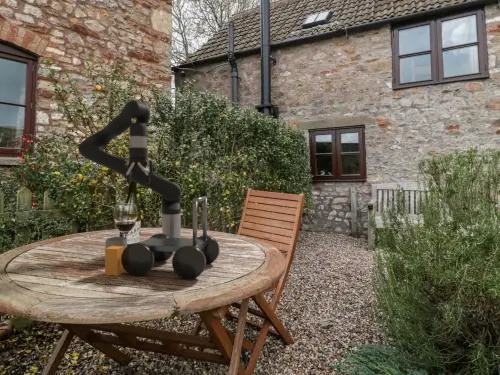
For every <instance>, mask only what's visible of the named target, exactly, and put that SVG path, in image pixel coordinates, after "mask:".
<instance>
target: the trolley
mask: <svg viewBox="0 0 500 375" xmlns="http://www.w3.org/2000/svg"><path fill="white" fill-rule="evenodd" d="M200 202H202V235H200V236H198V203H200ZM191 203H192V238H190V237H189V238H188V237H187V238H186V237H181V238H170V237H169V236H168V235H166V234H163V233H162V232H161V233H160V232H159V233H155V234H153V235H152V236H150V237H149V238H148V239H145V240H142V241H141V242H134V243H132V244H129V245H127V247H126V248H125V249H124V251H123V252H122V255H121V263H122V266H123V268H124V272H126V273H127V274H128V275H130V276H134V277H141V276H144V275H145V274H147V273H149V272H150V271H151V270H152V268H153V267H154V264H155V262H157V263H164V262H166V261H168V260H169V259H171V257H172V259H171V266H172V269H173V271H174V272H175V274H176V275H177V277H179V278H181V279H184V280H187V281H191V280H195V279H198V277H200V276H201V275H202V273H203V272H204V271H205V270H206V267H207V265H210V264H212V263H214V262H215V261H216V260H217V259H218V257H219V256H220V250H221V248H220V245H219V243H218V241H217V240H216V238H214V237H213V236H211V235H208V227H207V226H208V217H207V216H208V197H207V196H206V195H205V196H200V197H196V198H195V197H194V198H193V199H191Z"/></svg>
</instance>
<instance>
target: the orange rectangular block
mask: <svg viewBox="0 0 500 375" xmlns="http://www.w3.org/2000/svg"><path fill="white" fill-rule="evenodd" d="M123 251H124V246H111V247H108V248H106V247H104V267H105V268H104V270H105V272H104V274H105V276H110V275H115V276H114V277H119V276H120V275H122V274H124V273H125V270H124V268H123V266H122V263H121V255H122V252H123ZM118 275H119V276H118Z"/></svg>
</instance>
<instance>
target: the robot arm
mask: <svg viewBox="0 0 500 375" xmlns="http://www.w3.org/2000/svg"><path fill="white" fill-rule="evenodd" d="M150 116H151V109H150V107H149V105H148V104H147V103H145V102H142V101H138V100H135V99H133V100H130V101H127V102H126V103H125V104H124V106H123V108H122V109H121V111H120V113H119V114H118V115H116V116H115V117H114V118H112V119H111V120H110V121H109V123H107V125H105V127H103V128H102V129H101V130H99V131H98V132H95V133H94V134H90V136H88V137H86V138H85V139H84V140H82V142H81V143H80V144H78V152H79V154H80V155H81V156H82V157H84V158H85V159H86V160H89V161H91V162H93V163H96V164H99V165H101V166H103V167H106V168H107V169H110V170H111V171H114V172H115V173H118V174H119V175H121V176H122V177H124V178H126V183H127V184H128V185H130V184H132V182H134V183H136V184H138V185H141V186H143V187H145V188H149V189H150V190H153V192H156V193H157V194H159V195H160V196H161V233H163V234H166V235H168V236H169V237H170V238H182V237H181V230H182V229H181V228H182V226H181V223H182V221H181V220H182V219H181V213H182V212H181V195H182V190H181V189H182V188H181V187H180V185H178V184H177V183H175V182H172V181H170V180H167V179H165V178H163V177H161V176H160V175H158V174H156V171H155V169H156V168H155V160H148V138H147V137H148V136H147V129H148V128H147V127H148V123H149V120H150V118H151V117H150ZM134 118H136V120H135V122H134ZM128 129H129V141H128V146H129V149H128V152H129V155H128V157H123V156H117V155H113V154H110V153H108V152H106V151H105V149H106V147H107V146H108V144H109V143H110V142H111V141H112V140H114V139H115V138H116V137H118V136H120V135H122V134H123V133H124V132H126V131H127V130H128ZM147 165H148V166H149V168H148V167H147Z"/></svg>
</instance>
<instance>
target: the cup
mask: <svg viewBox="0 0 500 375" xmlns="http://www.w3.org/2000/svg"><path fill="white" fill-rule="evenodd" d="M111 246H124V249H125V248H126V247H127V246H128V238H127V237H126V236H125V237H124V236H114V237H113V236H112V237H108V238H106V239H105V248H108V247H111Z"/></svg>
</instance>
